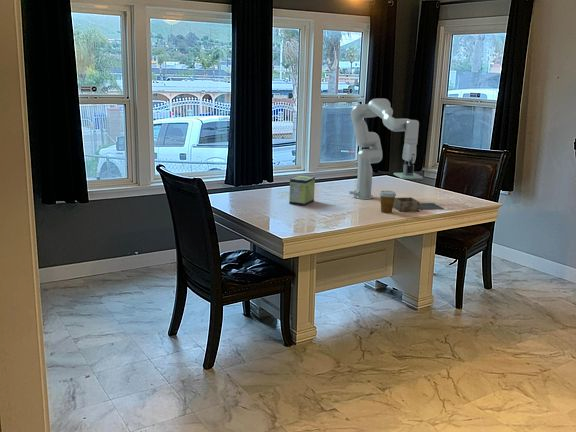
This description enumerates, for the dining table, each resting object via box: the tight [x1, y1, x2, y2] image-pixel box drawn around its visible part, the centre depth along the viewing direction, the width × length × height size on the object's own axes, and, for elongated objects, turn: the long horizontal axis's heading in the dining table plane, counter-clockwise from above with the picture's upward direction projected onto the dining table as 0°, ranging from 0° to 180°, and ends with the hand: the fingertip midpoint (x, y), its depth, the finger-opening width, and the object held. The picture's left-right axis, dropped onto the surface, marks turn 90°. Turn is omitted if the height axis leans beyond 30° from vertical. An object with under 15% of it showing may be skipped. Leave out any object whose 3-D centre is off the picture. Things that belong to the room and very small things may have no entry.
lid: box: [393, 163, 424, 180], centre depth 349 cm, size 13×13×7 cm
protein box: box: [288, 174, 316, 207], centre depth 362 cm, size 10×16×16 cm
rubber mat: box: [419, 202, 445, 211], centre depth 364 cm, size 15×15×1 cm
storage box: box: [393, 196, 421, 213], centre depth 354 cm, size 12×12×6 cm
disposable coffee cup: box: [379, 190, 397, 214], centre depth 346 cm, size 10×10×12 cm
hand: (408, 171), depth 349 cm, fingers closed on lid, 4 cm apart
